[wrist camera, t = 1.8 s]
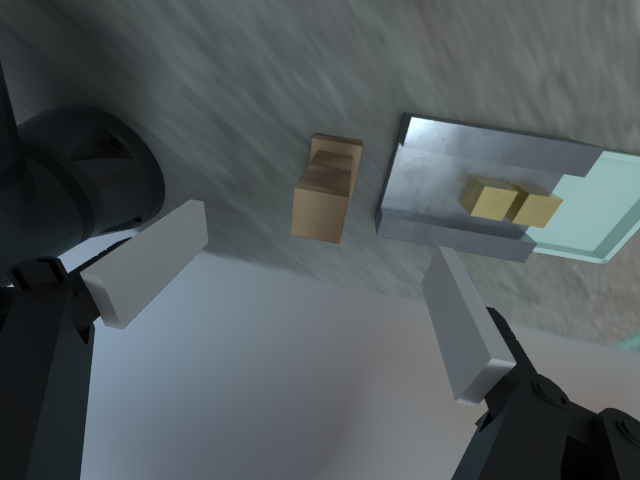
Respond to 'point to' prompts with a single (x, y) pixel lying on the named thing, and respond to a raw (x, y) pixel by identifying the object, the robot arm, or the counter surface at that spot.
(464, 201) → the chip
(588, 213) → the tray
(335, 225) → the stepped wooden block
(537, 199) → the yellow sponge cube
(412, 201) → the slot board
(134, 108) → the counter surface
